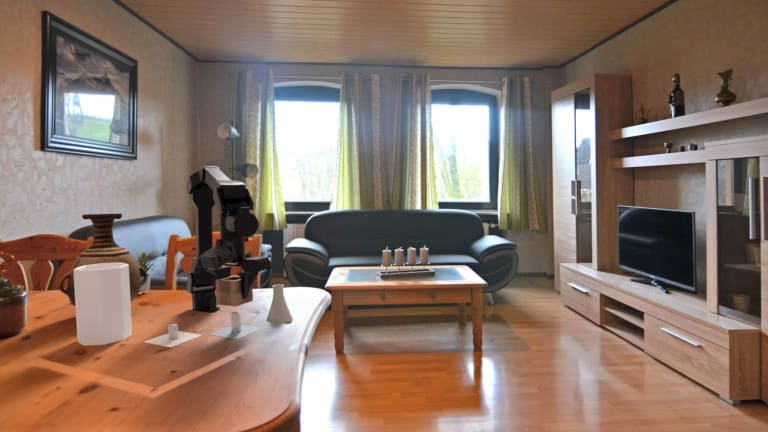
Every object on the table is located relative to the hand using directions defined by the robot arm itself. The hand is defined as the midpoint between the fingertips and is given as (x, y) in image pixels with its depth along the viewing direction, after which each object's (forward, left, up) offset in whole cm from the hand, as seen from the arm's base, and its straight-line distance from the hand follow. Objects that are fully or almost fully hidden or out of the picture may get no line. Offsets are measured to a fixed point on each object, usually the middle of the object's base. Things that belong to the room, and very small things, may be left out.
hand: (234, 297), depth 111 cm
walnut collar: (0, 0, -1) cm, 1 cm away
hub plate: (0, 0, -10) cm, 10 cm away
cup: (-26, -16, -10) cm, 32 cm away
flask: (+2, +14, -10) cm, 17 cm away
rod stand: (-10, -10, -10) cm, 17 cm away
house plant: (-66, +24, -10) cm, 71 cm away
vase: (-50, 0, -10) cm, 51 cm away
